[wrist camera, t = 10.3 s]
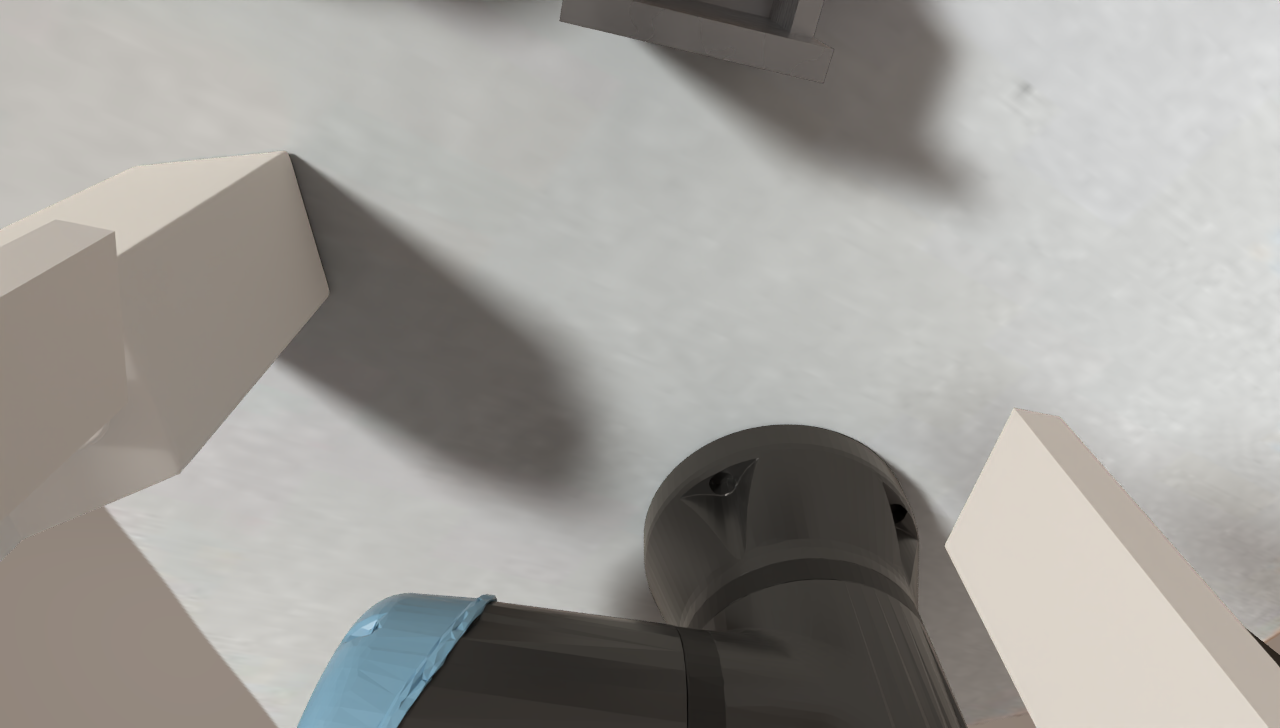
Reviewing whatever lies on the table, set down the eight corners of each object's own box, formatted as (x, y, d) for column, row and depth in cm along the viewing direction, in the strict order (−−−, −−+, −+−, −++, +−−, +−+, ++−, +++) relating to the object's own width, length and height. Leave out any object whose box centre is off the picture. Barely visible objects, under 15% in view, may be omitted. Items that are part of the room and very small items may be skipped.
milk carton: (191, 307, 41) (-123, 574, 24) (135, 164, 37) (-275, 356, 20) (332, 294, 40) (115, 554, 23) (289, 148, 37) (1, 330, 20)
